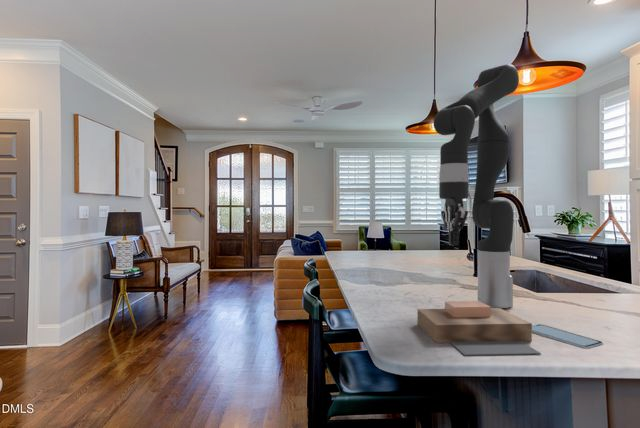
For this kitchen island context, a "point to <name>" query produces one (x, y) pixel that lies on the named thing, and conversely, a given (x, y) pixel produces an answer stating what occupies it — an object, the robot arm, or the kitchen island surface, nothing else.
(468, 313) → the terracotta tile
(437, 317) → the block
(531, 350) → the rubber mat
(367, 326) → the kitchen island surface
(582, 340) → the smartphone
